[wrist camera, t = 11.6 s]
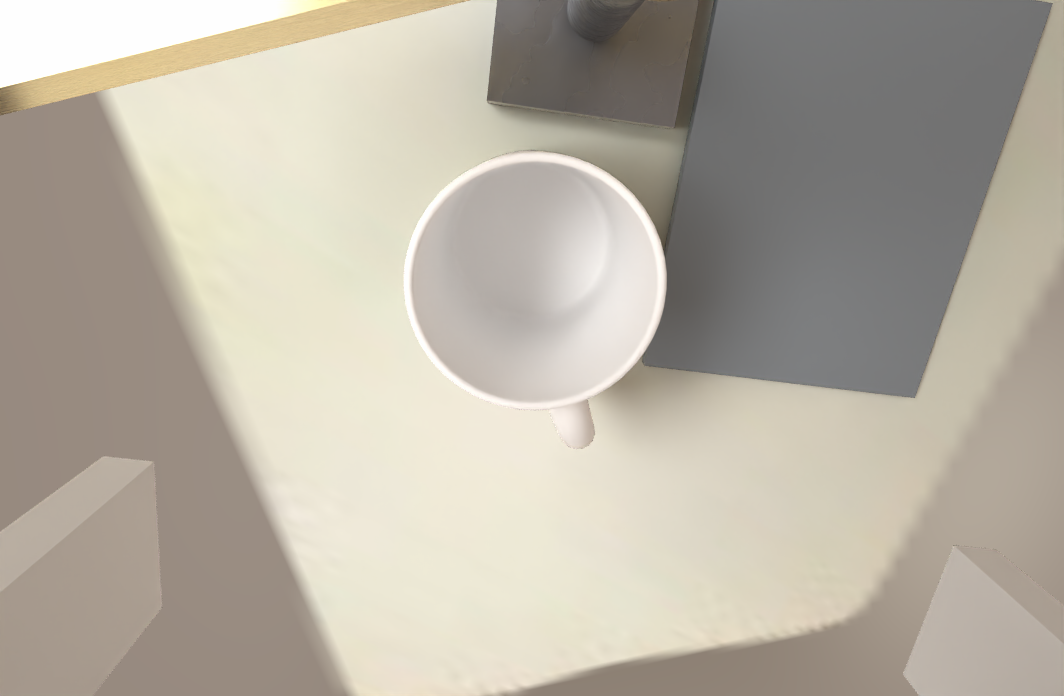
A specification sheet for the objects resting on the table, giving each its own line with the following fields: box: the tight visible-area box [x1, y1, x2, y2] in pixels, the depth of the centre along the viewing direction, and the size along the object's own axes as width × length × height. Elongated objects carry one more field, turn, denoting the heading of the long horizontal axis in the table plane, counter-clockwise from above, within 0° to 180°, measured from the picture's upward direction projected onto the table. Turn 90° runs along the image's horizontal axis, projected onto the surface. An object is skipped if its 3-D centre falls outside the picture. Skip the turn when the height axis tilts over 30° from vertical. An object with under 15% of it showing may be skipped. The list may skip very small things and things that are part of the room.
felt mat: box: [642, 0, 1053, 398], centre depth 28 cm, size 18×14×1 cm
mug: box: [404, 150, 667, 449], centre depth 25 cm, size 12×8×10 cm
